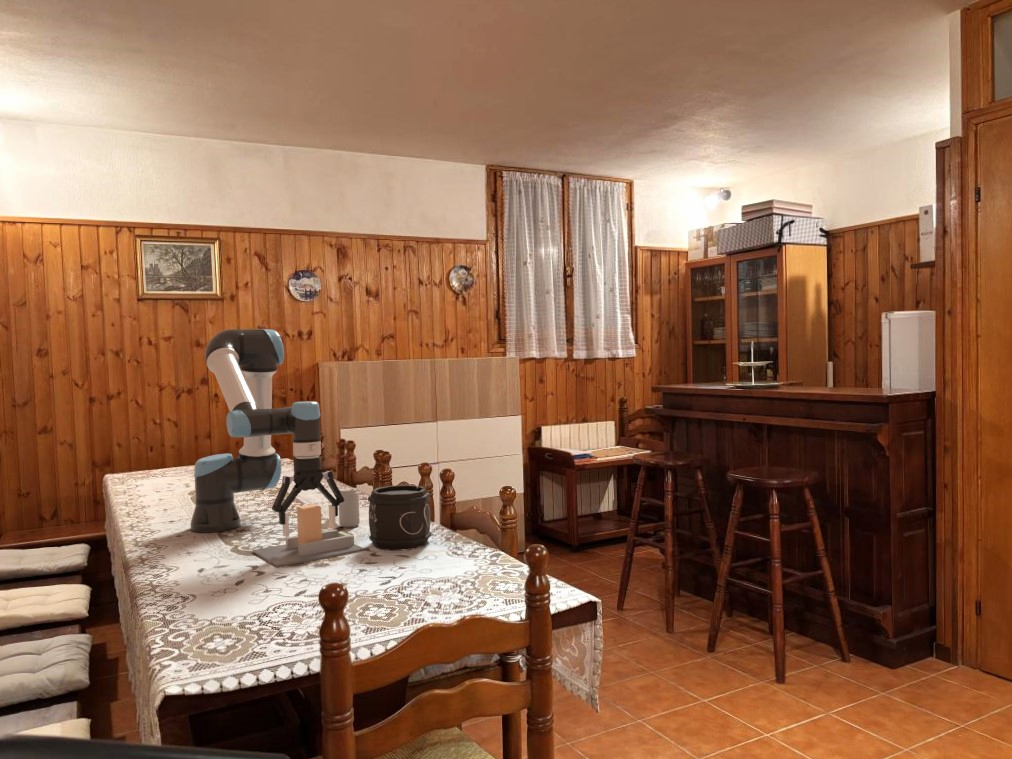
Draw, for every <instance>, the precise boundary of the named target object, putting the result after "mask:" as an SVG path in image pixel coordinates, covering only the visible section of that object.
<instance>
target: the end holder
mask: <svg viewBox="0 0 1012 759" xmlns="http://www.w3.org/2000/svg"><path fill="white" fill-rule="evenodd" d="M365 551H366V548H365V547H363V546H360V545H359V544H356V543H355V536H354V535H352V534H349V533H347V532H345V531H338V529H329V530H324V531H322V540H319V541H313V542H307V543H302V544H298V535H296V536H295V535H294V536H289V537H285V543H284V544H281V545H280V544H279V545H274V546H268V547H262V548H257V549H252V553H253V554H255V555H257V556H258V557H260V558H261V559H262V560H264V561H265V562H267V563H270V564H271V565H273V566H274V567H277V568H279V567H280V568H281V567H286V566H292V565H297V564H302V563H306V562H313V561H318V560H323V559H329V558H333V557H334V558H335V557H338V556H344V555H350V554H354V553H361V552H365Z"/></svg>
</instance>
